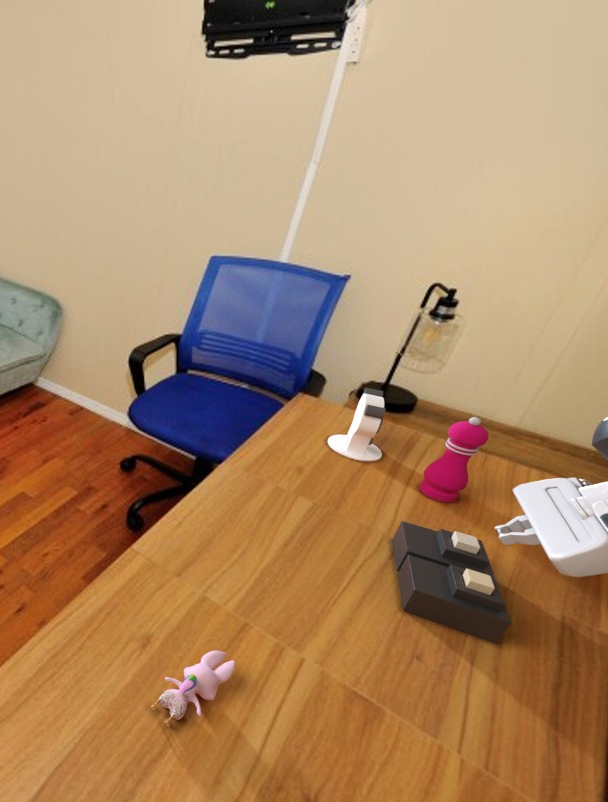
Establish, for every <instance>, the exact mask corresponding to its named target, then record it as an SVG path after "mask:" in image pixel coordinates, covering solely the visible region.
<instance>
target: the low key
mask: <svg viewBox="0 0 608 802" xmlns="http://www.w3.org/2000/svg"><path fill="white" fill-rule="evenodd" d="M453 532H454V533H453V535H452V537H451V540H452V543H453V547H454V548H457V549H460V550H464V551H467V552H470V553H474V554H477V552H478V551H479V549H480V546H479V543H478V540H479V539H478V537H477V536H473V535H471V534H466V533H463V532H460V531H457V530H455V531H453ZM477 539H478V540H477Z"/></svg>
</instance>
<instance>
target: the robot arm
mask: <svg viewBox="0 0 608 802" xmlns="http://www.w3.org/2000/svg"><path fill="white" fill-rule="evenodd" d="M591 446H592V447H593V448H594V449H595V450H596V451H597V452H598V453H599V454H600V455H601V456H602V457H603V458H604V459H605V461H607V462H608V416H607V417H605V418H604V419H603V420H599V422H598V423H597V425H596V426H595V429H594V431H593V435H592V439H591ZM512 493H513V494H514V496H515V499H516V500H517V501H518V504H519V506H520V507H521V509H522V510H523V513H524V514H522V515H517V516H516V517H513V518H512V519H511V520H509V521H508V522H506V523H505V524H499V525H495V526H494V530H495V533H496V534H497V537H498V540H499V541H500V542H501V544H503V545H505V546H509V545H515V544H520V545H529V546H538V545H541V547H542V548H543V550H544V552H545V554H546V556H547V557H548V560H549V562H551V563H552V565H553V566H554V568H555V569H556V570H557V571H558V572H559V573H560V574H561V575H562V576H566V577H570V578H583V577H584V578H585V577H591V576H597V575H604V574H608V481H603V482H599V483H594V484H592V482H591V481H589V480H588V479H583V478H576V477H567V478H566V477H556V478H555V477H554V478H547V479H540V480H536V481H531V482H525V483H521V484H518V485H516V486H515V487H513V488H512ZM522 531H523V532H522Z"/></svg>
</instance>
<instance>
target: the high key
mask: <svg viewBox="0 0 608 802" xmlns="http://www.w3.org/2000/svg"><path fill="white" fill-rule="evenodd" d="M462 577H463V580H464V584H465V587H467V588H470V589H473V590H476V591H479V592H482V593H485V594H488V595H491V593H492V592H493V590H494V589H495V588H494V585H493V582H492V579H491V577H490V576H489V575H486V574H483V573H480V572H477V571H473V570H470V569H467V568H466V570H465V572H464V573H463V575H462Z"/></svg>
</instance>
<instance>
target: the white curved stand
mask: <svg viewBox="0 0 608 802" xmlns="http://www.w3.org/2000/svg"><path fill="white" fill-rule="evenodd" d="M383 396H384V391H383V390H379V389H374V388H368V387H365V388H364V391H363V393H362V395H361V397H360V399H359V401H358V404H357V407H356V409H355V412H354V416H353V420H352V422H351V425H350V427H349V429H348V432H347V434H332V435H330V436H329V437H328V439H327V444H328V446H329V447H330V449H331V450H333V451H334V452H336V453H338V454H339V455H341V456H343V457H345V458H347V459H348V458H349V459H352V460H355V461H359V462H369V463H370V462H376V461H379V460H380V459H382V456H383V453H382V450H381V449H380V448H379V447H378V446H376V444H374V443H373V442H374V437H375V436H376V434H379V432H380V430H381V428H382V425H383V422H384V417H385V414H386V410H387V407H385V398H384V397H383Z"/></svg>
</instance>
